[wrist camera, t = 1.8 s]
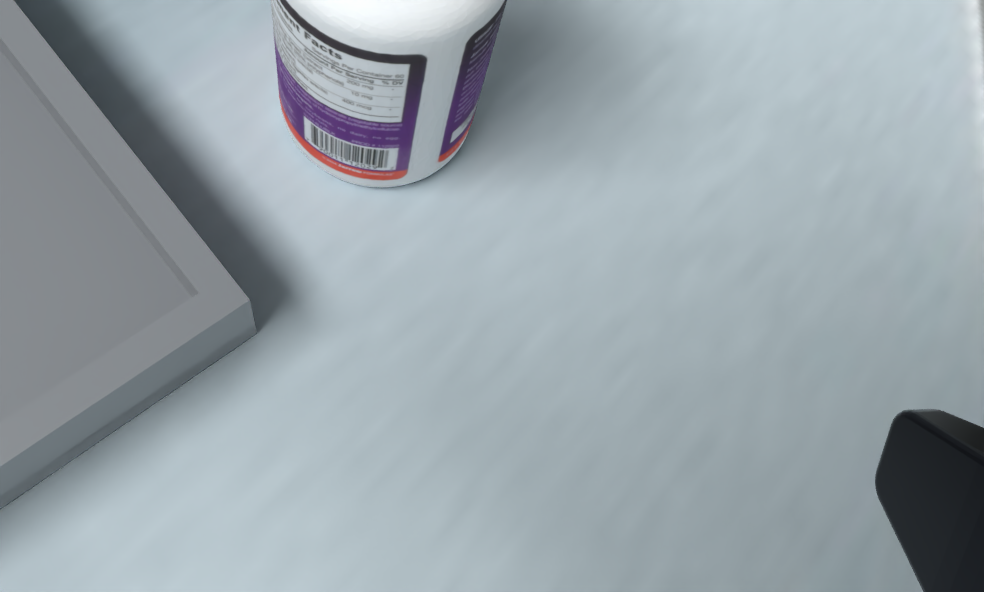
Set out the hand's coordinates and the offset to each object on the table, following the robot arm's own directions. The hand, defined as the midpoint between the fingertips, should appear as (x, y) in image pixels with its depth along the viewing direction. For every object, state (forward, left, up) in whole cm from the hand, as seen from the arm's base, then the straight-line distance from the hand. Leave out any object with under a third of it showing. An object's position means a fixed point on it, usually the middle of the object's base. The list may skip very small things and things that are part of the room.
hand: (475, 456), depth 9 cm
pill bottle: (+7, +10, -14) cm, 19 cm away
